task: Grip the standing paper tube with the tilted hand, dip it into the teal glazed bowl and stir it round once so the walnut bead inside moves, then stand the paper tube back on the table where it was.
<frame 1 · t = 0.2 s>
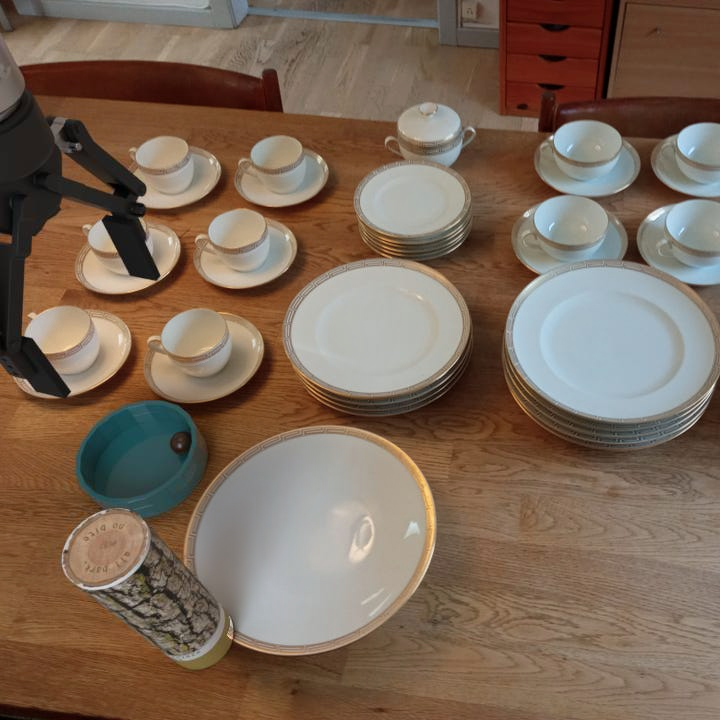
hand: (102, 330, 62), 33 cm above the table, tool pointing down, fingers open, 13 cm apart
paper tube: (205, 639, 79), on the table
bowl: (150, 467, 92), on the table
bead: (182, 443, 91), point 2 cm above the table, touching bowl
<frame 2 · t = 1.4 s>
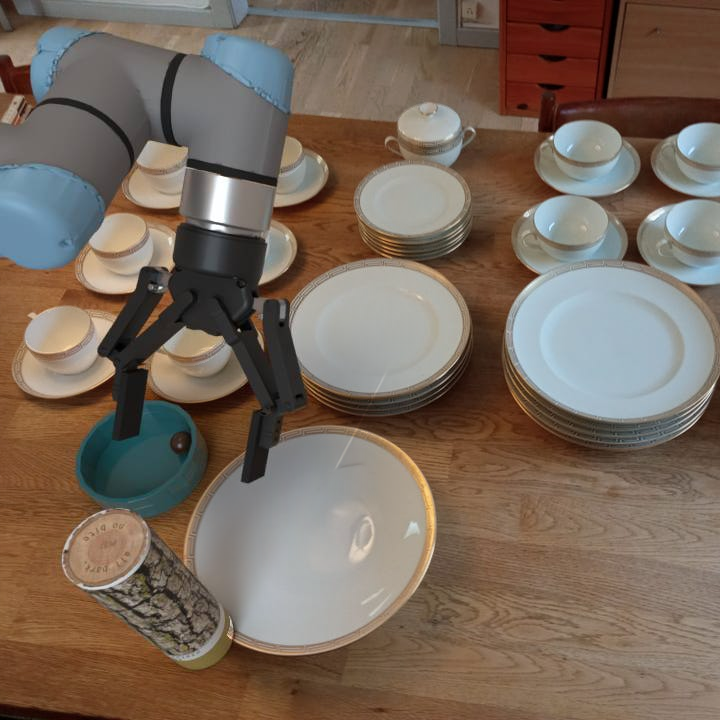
hand: (187, 458, 67), 22 cm above the table, tool tilted 45°, fingers open, 13 cm apart
nothing on the table moved.
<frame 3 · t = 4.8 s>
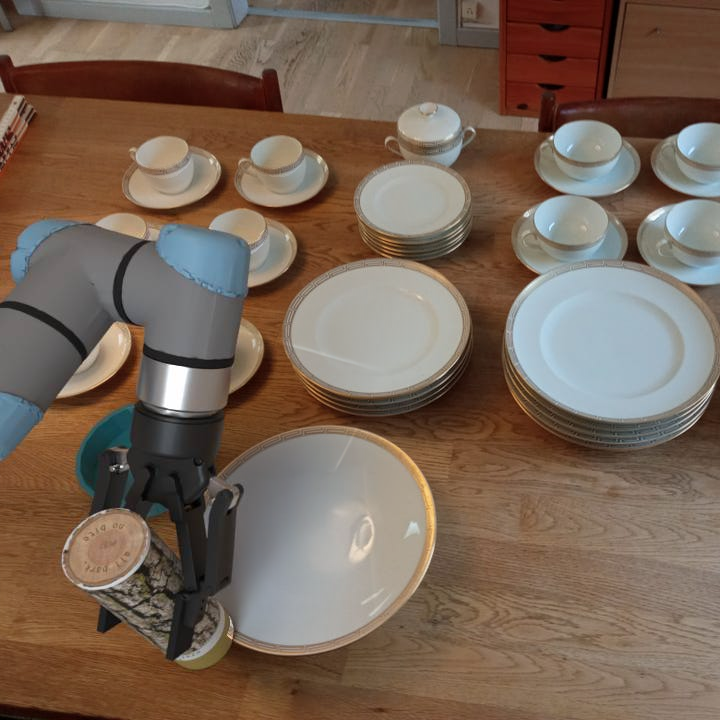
hand: (144, 638, 68), 11 cm above the table, tool tilted 45°, fingers closed on paper tube, 7 cm apart
paper tube: (205, 639, 79), on the table, touching gripper
everything else where it was.
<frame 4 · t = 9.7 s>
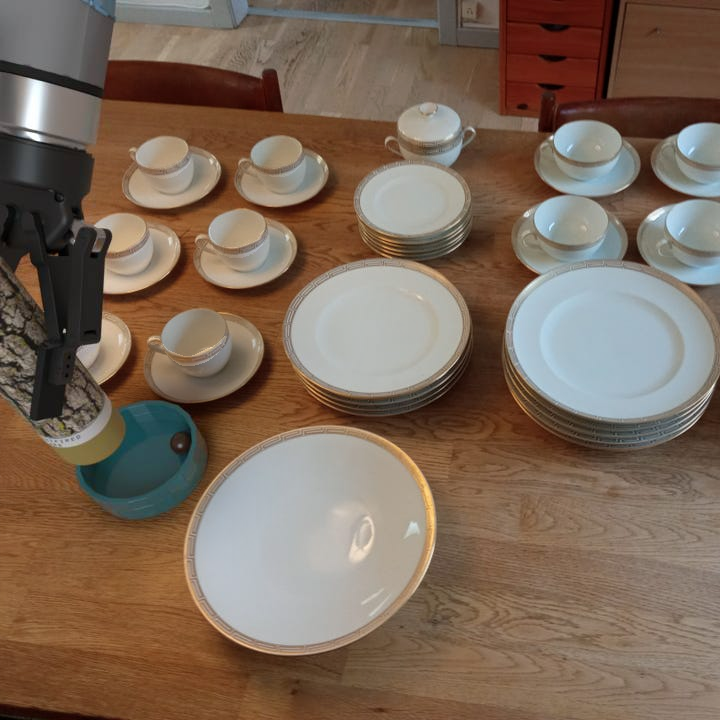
hand: (11, 404, 64), 28 cm above the table, tool tilted 45°, fingers closed on paper tube, 7 cm apart
paper tube: (95, 440, 75), point 17 cm above the table, touching gripper
everything else where it was.
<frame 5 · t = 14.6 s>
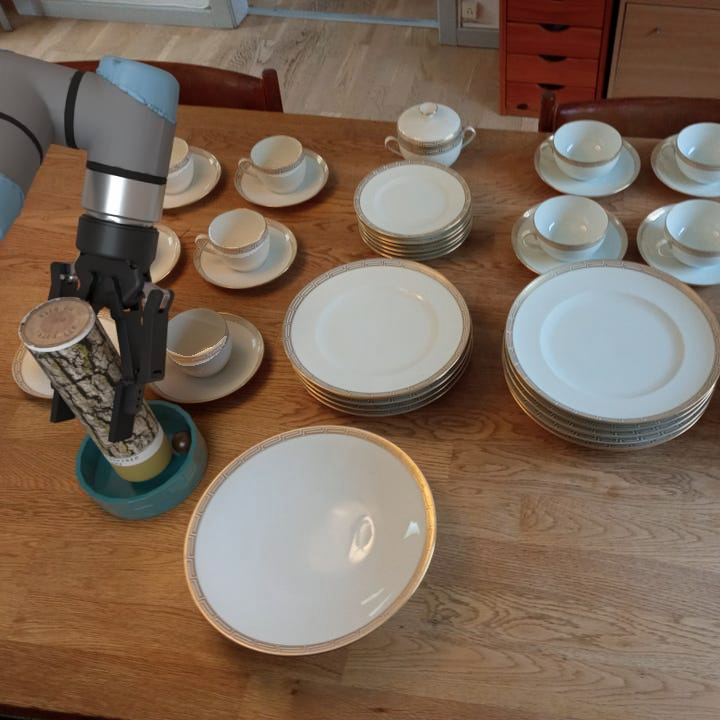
hand: (91, 429, 79), 14 cm above the table, tool tilted 45°, fingers closed on paper tube, 7 cm apart
paper tube: (146, 461, 90), point 2 cm above the table, touching gripper
bead: (184, 441, 92), point 2 cm above the table, tilted 10°, touching bowl
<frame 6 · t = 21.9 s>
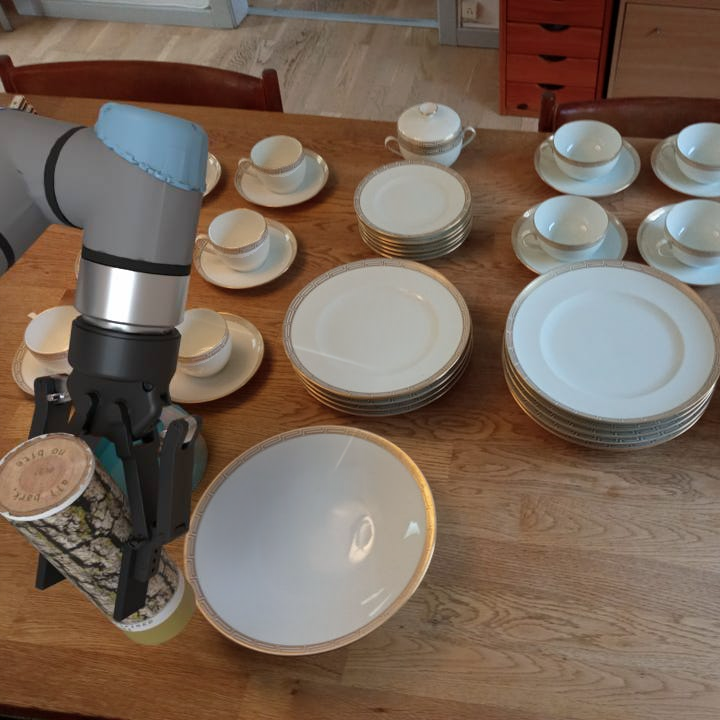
hand: (90, 596, 59), 23 cm above the table, tool tilted 45°, fingers closed on paper tube, 7 cm apart
paper tube: (162, 612, 70), point 11 cm above the table, touching gripper
bead: (164, 446, 91), point 2 cm above the table, tilted 84°, touching bowl
when the fingers open (12 cm above the table, at t = 25.2 s): paper tube stays where it is, on the table.
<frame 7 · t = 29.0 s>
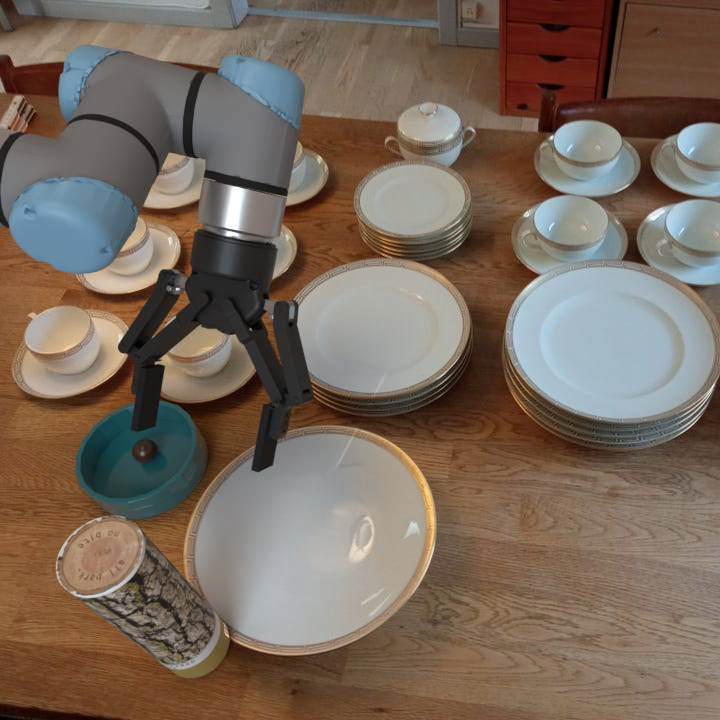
hand: (201, 448, 72), 19 cm above the table, tool tilted 45°, fingers open, 13 cm apart
paper tube: (200, 647, 79), on the table
bead: (145, 451, 91), point 2 cm above the table, tilted 173°, touching bowl
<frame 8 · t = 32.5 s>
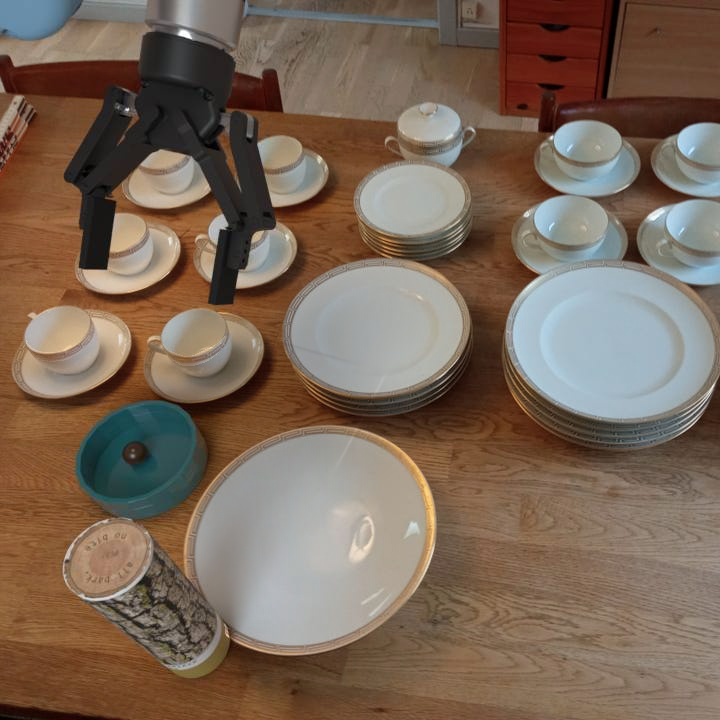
hand: (155, 286, 66), 33 cm above the table, tool tilted 45°, fingers open, 13 cm apart
bead: (135, 453, 91), point 2 cm above the table, tilted 141°, touching bowl
everything else where it was.
at the end: bead moved 5.7 cm from its start; bead inside the target area in the bowl (1.4 cm from its centre), point 2.3 cm above the bowl's base; paper tube inside the target area (0.9 cm from its centre), on the table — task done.
